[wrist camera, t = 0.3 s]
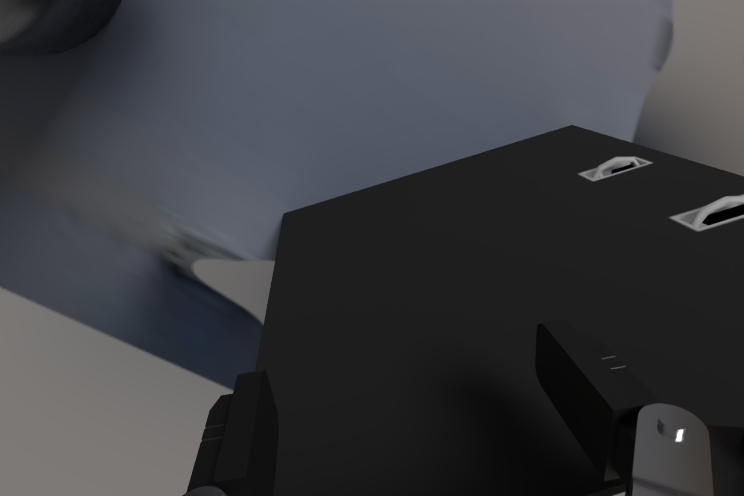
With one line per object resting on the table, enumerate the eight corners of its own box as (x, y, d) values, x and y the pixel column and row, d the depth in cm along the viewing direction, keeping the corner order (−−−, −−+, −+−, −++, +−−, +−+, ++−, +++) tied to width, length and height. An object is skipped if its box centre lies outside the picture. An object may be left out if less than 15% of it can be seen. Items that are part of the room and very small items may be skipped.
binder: (325, 331, 47) (345, 796, 18) (278, 198, 41) (190, 576, 12) (580, 260, 47) (1013, 607, 18) (571, 117, 41) (1208, 289, 12)
